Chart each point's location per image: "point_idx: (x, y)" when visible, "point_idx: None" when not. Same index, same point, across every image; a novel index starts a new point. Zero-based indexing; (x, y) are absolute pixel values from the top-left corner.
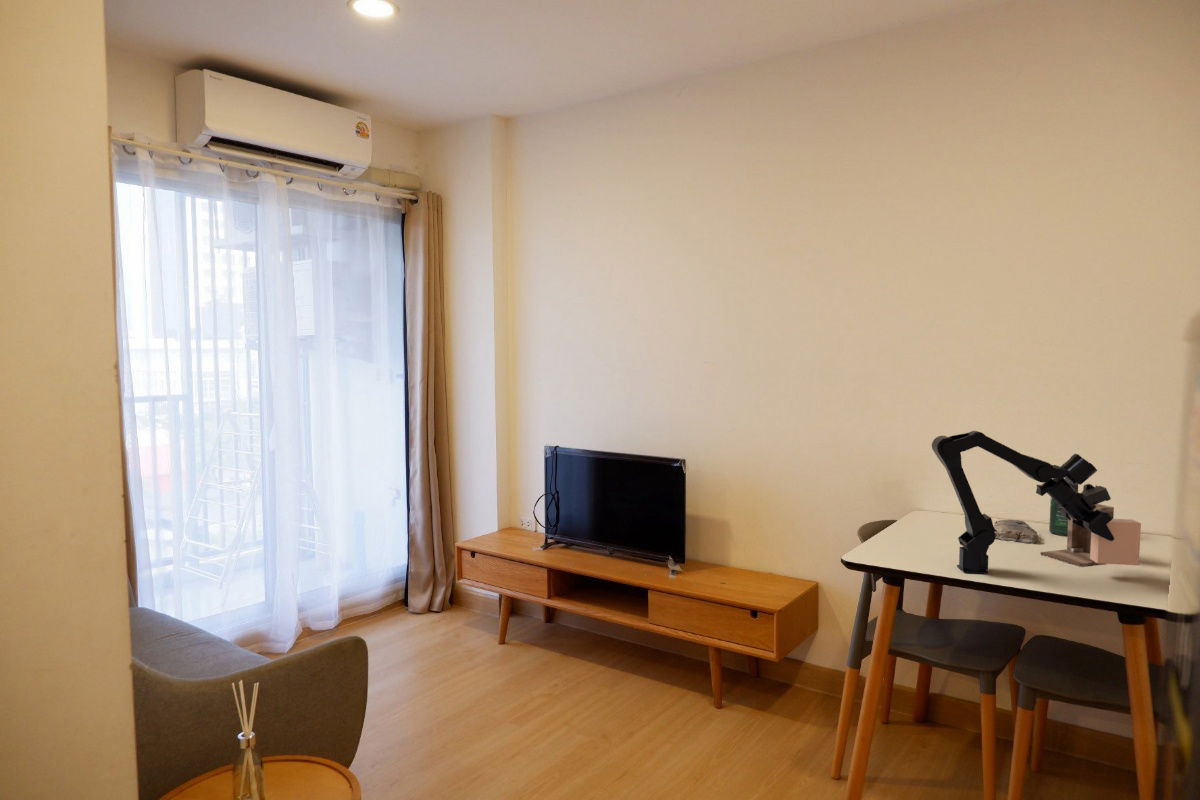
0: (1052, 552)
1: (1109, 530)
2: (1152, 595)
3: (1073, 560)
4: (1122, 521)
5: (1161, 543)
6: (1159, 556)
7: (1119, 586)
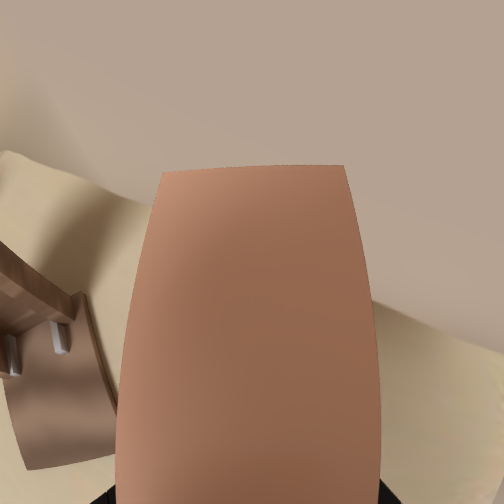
0: (24, 438)
1: (394, 496)
2: (454, 350)
3: (93, 442)
4: (309, 329)
5: (24, 157)
6: (70, 178)
7: (387, 422)
